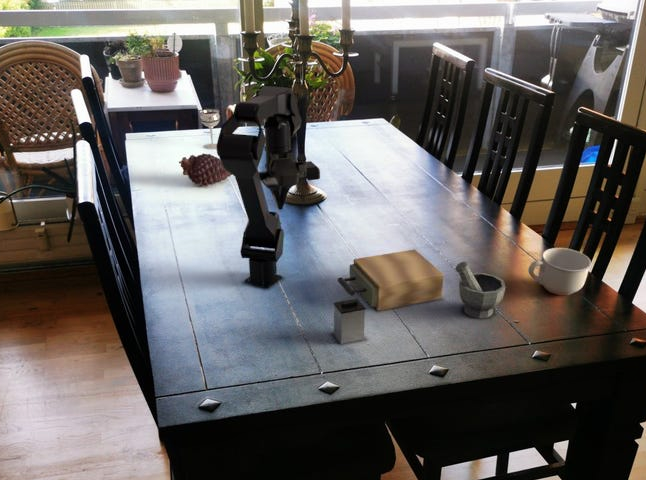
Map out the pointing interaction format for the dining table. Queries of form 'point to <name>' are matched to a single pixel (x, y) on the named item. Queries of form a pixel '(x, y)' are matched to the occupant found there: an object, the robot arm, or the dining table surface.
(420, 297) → the cabinet
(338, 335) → the metal box
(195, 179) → the pine cone
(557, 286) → the teacup
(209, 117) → the wineglass
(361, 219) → the dining table surface
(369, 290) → the drawer
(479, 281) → the mortar and pestle
